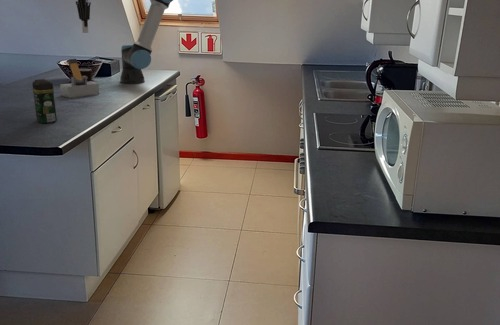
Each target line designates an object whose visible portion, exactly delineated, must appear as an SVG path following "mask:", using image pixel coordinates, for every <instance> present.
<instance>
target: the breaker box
mask: <svg viewBox="0 0 500 325" xmlns="http://www.w3.org/2000/svg"><path fill="white" fill-rule="evenodd" d="M70 79H71V80H70V81H71V83H61V84H59V88H60V96H62V97H64V98H67V99H71V98H72V99H74V98H80V97H87V96H96V95H99V94H100V86H99V83H98V82H95V81H92V80H91V81H87V76H82V79H84V83H80V84H76V78H75V77H74V76H70Z"/></svg>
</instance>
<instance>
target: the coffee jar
mask: <svg viewBox="0 0 500 325" xmlns="http://www.w3.org/2000/svg"><path fill="white" fill-rule="evenodd" d="M54 91H55V89H54V83H52V82H51V81H49V80H46V79H44V78H43V79H42V78H41V79H40V78H39V79H35V80H34V81H33V82H32V93H33V94H32V95H33V99H34V100H33V101H34V110H35V117H36V121H37V122H38V123H41V124H52V123H54V122H57V120H58V119H57V110H56V103H55V102H56V101H55V93H54Z"/></svg>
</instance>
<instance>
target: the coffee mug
mask: <svg viewBox="0 0 500 325" xmlns="http://www.w3.org/2000/svg"><path fill="white" fill-rule="evenodd" d="M79 70H80V73H81V76H87V81H92V72H93V71H92V69H91V68H79ZM72 75H73V73H72V72H70V75H69V76H70V77H72Z"/></svg>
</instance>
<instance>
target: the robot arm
mask: <svg viewBox="0 0 500 325" xmlns="http://www.w3.org/2000/svg"><path fill="white" fill-rule="evenodd" d="M149 1H150V6H149V9H148V11H147V14H146V17H145V20H144V22H143V25H142V28H141V30H140V33H139V36H138V38H137V41H134V42H133V44H128V45H127V44H126V45H125V44H124V45H122V46H121V50H120V51H121V64H122V65H121V66H122V70H121V75H120V79H119V80H120V83H122V84H142V83H145V76H144V74H143V69H146V68H148V67H149V66H150V65H151V64H152V63H151V62H152V57H151V55H152V52H153V49H152V45H153V42H154V40H155V38H156V37H155V36H156V35H157V32H158V28H159V26H160V24H161V21H162V19H163V16H164V12H165V11H166V10H167V9H169V7H170V5H171V3H172V2H173V1H174V0H149ZM75 4H76V8H77V13H78V18H79V20H80V21H81V26H82V27H81V28H82V34H83V33H84V34H87V33H89V26H88V25H89V24H88V21H89V20H90V19H91V18H90V17H91V4H92V3H91V1H89V0H77V1H75Z"/></svg>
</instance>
